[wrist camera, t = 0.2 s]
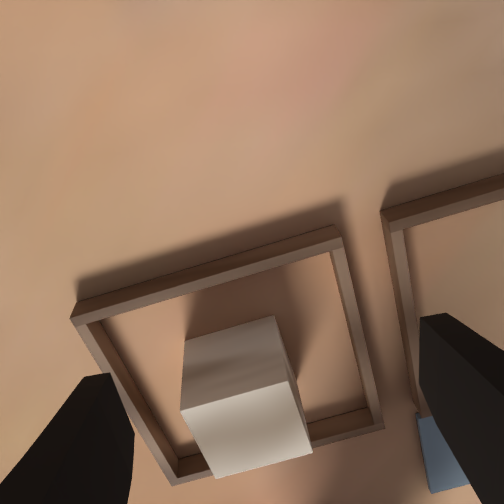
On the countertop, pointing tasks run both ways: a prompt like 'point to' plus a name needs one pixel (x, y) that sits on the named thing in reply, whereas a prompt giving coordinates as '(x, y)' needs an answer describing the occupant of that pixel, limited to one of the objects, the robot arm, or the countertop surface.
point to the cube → (243, 398)
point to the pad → (438, 458)
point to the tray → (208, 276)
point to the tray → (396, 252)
